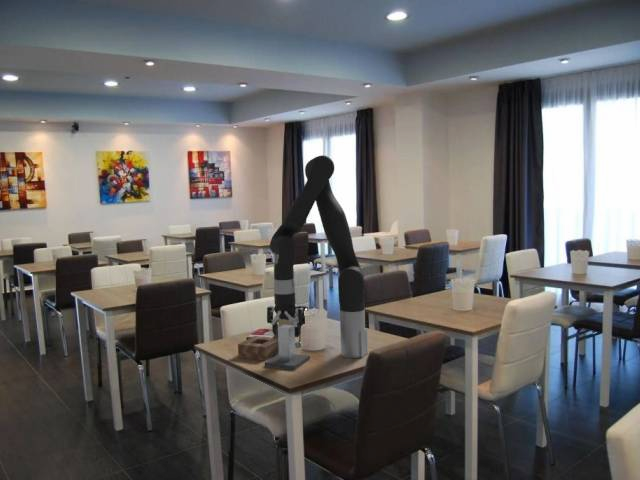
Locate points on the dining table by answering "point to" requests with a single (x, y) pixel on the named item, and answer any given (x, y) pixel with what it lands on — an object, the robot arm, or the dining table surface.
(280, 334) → the peg
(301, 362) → the mat
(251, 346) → the socket block
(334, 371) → the dining table surface
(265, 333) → the calculator
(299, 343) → the wine glass
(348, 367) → the dining table surface
